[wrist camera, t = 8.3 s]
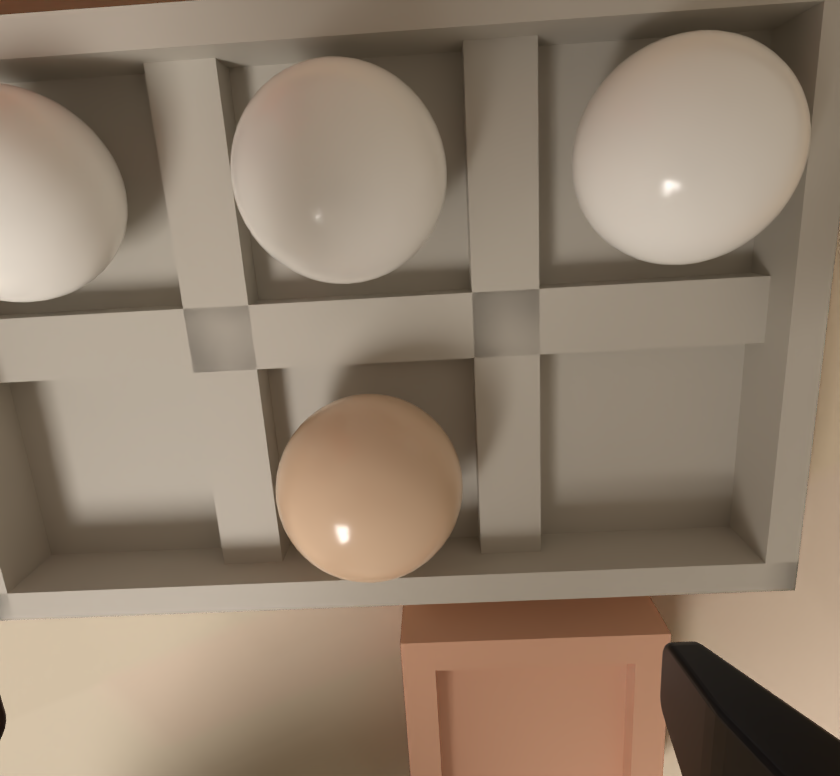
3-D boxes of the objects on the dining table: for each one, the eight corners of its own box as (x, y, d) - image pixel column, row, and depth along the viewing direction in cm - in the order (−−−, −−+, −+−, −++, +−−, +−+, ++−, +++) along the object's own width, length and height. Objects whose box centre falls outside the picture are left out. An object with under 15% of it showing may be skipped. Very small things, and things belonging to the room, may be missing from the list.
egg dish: (634, 776, 20) (658, 841, 18) (417, 782, 20) (416, 847, 18) (643, 585, 18) (671, 634, 16) (403, 595, 18) (400, 643, 16)
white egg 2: (449, 269, 15) (455, 289, 11) (275, 279, 15) (215, 302, 11) (440, 77, 14) (443, 15, 10) (252, 89, 14) (176, 34, 10)
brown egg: (460, 520, 17) (474, 619, 13) (304, 529, 17) (268, 629, 13) (453, 369, 16) (466, 422, 12) (287, 379, 16) (239, 435, 12)
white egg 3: (732, 253, 15) (850, 266, 11) (553, 263, 15) (600, 280, 11) (747, 56, 14) (886, -17, 10) (553, 69, 14) (605, 3, 10)
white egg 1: (174, 285, 16) (77, 310, 11) (6, 294, 16) (-152, 323, 11) (143, 97, 14) (21, 46, 10) (-38, 110, 14) (-232, 64, 10)
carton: (745, 540, 18) (795, 590, 15) (43, 568, 18) (-15, 621, 16) (796, -4, 14) (872, -51, 12) (-85, 59, 15) (-186, 28, 12)
